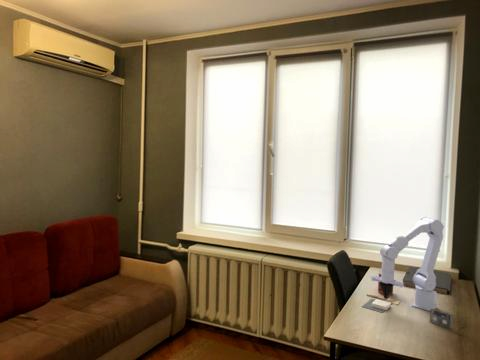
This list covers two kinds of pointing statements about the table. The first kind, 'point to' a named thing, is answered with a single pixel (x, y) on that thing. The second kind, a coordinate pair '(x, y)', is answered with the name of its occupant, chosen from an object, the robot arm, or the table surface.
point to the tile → (381, 304)
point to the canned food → (381, 288)
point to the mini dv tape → (440, 318)
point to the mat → (369, 306)
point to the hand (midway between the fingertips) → (386, 298)
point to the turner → (385, 299)
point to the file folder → (441, 281)
